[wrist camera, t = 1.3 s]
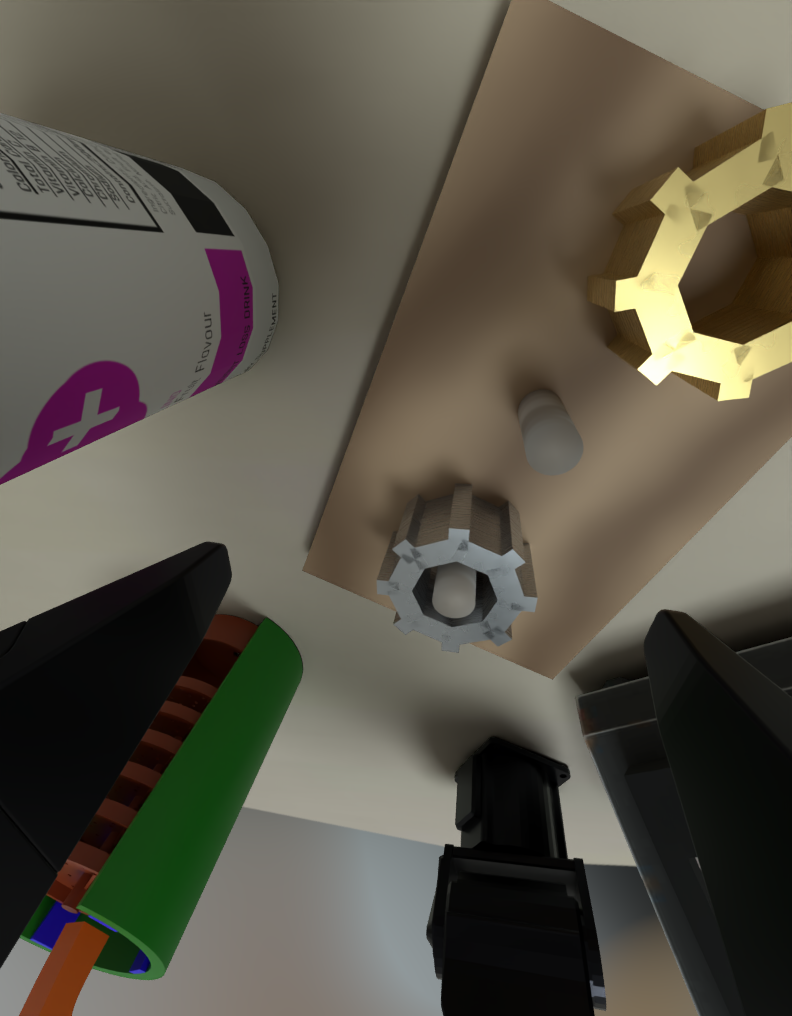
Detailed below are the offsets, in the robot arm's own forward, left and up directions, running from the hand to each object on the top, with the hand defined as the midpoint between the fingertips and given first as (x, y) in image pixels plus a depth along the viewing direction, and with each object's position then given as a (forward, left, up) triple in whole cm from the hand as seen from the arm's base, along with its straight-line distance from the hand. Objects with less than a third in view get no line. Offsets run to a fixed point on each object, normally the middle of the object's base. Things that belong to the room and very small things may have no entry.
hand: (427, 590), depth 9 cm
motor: (+6, +24, -13) cm, 28 cm away
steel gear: (-3, +6, -11) cm, 13 cm away
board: (-4, 0, -13) cm, 14 cm away
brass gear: (-5, -8, -11) cm, 15 cm away
